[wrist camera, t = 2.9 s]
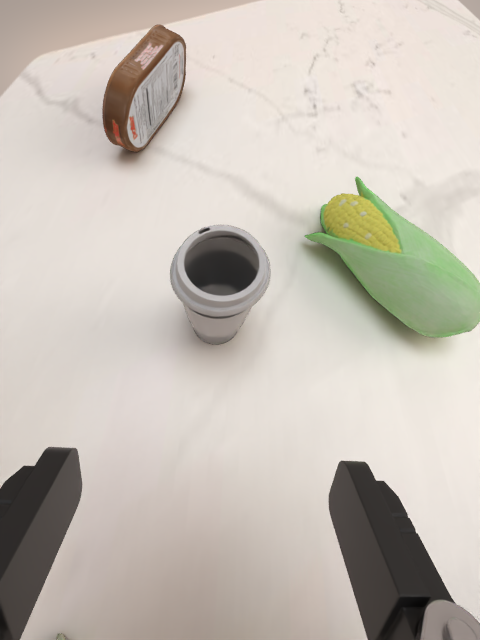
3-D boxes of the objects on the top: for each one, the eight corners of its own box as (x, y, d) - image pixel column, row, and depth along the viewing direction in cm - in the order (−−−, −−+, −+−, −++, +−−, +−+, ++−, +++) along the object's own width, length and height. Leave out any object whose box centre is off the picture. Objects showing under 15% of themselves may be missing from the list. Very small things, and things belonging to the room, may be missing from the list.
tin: (170, 83, 44) (163, 5, 36) (192, 92, 44) (189, 15, 36) (111, 160, 39) (88, 88, 31) (136, 170, 39) (118, 101, 31)
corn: (441, 366, 29) (283, 215, 33) (426, 353, 36) (298, 231, 41) (529, 298, 26) (346, 145, 31) (493, 299, 34) (350, 176, 38)
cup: (231, 281, 35) (245, 205, 24) (262, 335, 33) (293, 281, 22) (168, 308, 33) (151, 240, 22) (198, 367, 31) (195, 326, 20)
